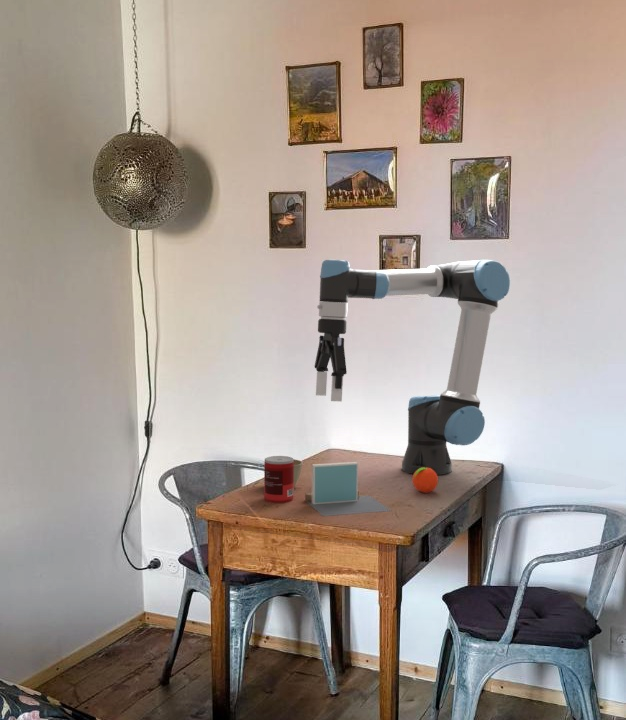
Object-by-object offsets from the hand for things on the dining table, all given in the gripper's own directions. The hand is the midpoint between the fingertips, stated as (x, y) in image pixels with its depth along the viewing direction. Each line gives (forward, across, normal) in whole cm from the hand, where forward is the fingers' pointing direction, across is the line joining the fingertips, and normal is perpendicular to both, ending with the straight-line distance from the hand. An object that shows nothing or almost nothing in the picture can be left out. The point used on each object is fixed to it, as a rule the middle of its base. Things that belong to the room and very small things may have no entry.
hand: (328, 398), depth 221 cm
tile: (+26, +9, 0) cm, 27 cm away
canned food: (+27, +2, -13) cm, 30 cm away
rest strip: (+26, +6, 0) cm, 27 cm away
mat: (+26, +13, +2) cm, 29 cm away
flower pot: (+27, -11, -8) cm, 30 cm away
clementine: (+25, +4, +27) cm, 37 cm away
